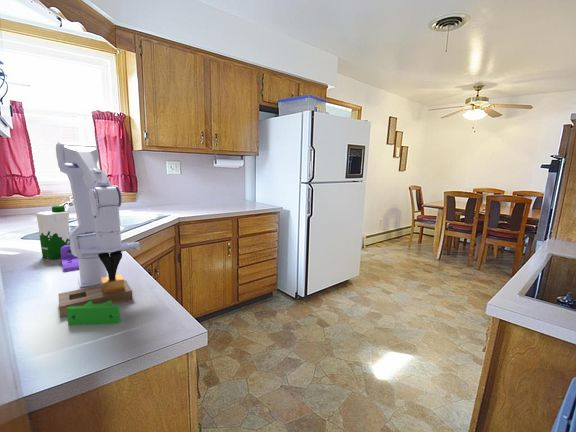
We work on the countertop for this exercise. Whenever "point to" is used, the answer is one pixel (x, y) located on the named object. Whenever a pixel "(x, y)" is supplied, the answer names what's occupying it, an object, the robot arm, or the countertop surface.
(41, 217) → the milk carton
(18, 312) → the countertop surface
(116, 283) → the orange block
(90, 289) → the board
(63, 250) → the bracket
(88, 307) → the pipe clamp
